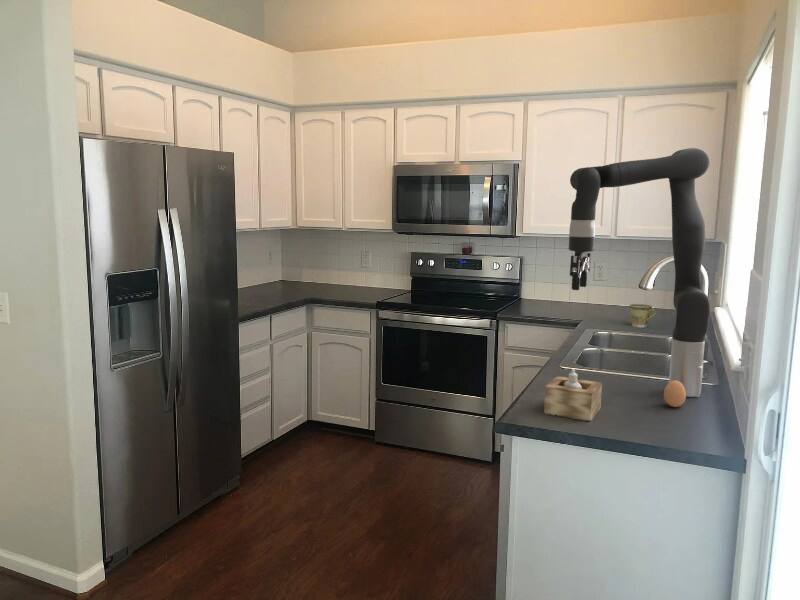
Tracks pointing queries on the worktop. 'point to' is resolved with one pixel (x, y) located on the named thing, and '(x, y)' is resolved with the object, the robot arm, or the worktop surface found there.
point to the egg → (674, 393)
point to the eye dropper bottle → (573, 380)
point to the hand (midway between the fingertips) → (579, 288)
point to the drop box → (573, 399)
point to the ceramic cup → (640, 314)
